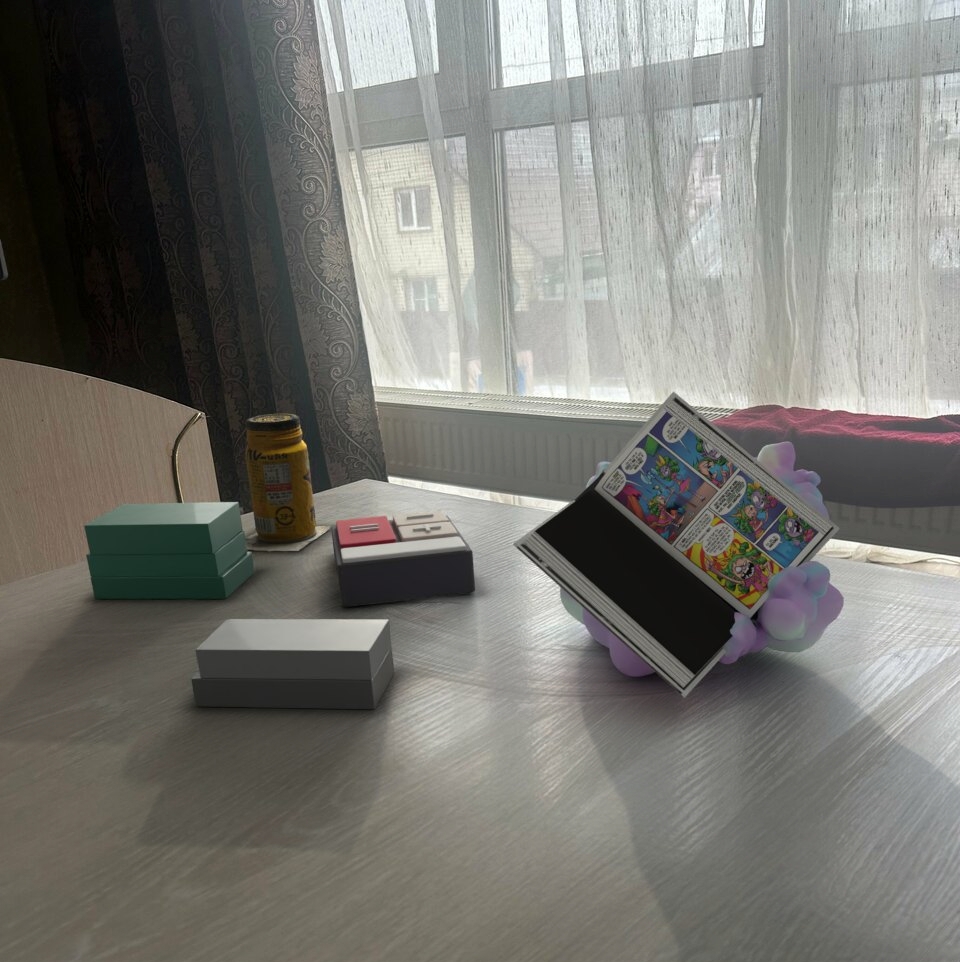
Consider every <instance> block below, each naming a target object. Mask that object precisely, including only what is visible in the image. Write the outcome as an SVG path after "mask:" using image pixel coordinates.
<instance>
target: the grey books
mask: <svg viewBox="0 0 960 962" xmlns="http://www.w3.org/2000/svg"><path fill="white" fill-rule="evenodd" d="M391 638H392V637H391V627H390V619H384V618H383V619H377V618H376V619H373V618H372V619H371V618H370V619H362V618H361V619H360V618H359V619H357V618H356V619H354V618H352V619H351V618H349V619H344V618H343V619H340V618H338V619H336V618H333V619H330V618H329V619H328V618H323V619H322V618H321V619H319V618H316V619H315V618H312V619H311V618H307V619H306V618H302V619H301V618H226V620H224V621H223V623H221V624H220V625H219V626H218V627H217V628H216V629H215V630H214V631H213V632H211V634H210V635H209V636H208V637H207V638H206V639H205V640H204V641H203V642H202V643H200V645H199V646H198V647H197V648H196V649H195V656H196V661H197V666H198V667H197V668H198V671H197V672H196V673H195V674H194V675H193V676H192V677H191V679H190V681H191V686H192V693H193V697H194V703H195V706H196V707H203V708H205V707H207V708H209V707H211V708H213V707H214V708H263V709H265V708H268V709H270V708H271V709H323V710H325V709H326V710H331V709H332V710H375V709H376V707H377V706H378V704H379V702H380V701H381V698H382V697H383V695H384V693H385V691H386V689H387V687H388V685H389V684H390V682H391V680H392V678H393V676H394V675H395V667H394V658H393V657H394V656H393V647H392V639H391Z"/></svg>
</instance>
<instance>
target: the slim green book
mask: <svg viewBox="0 0 960 962" xmlns="http://www.w3.org/2000/svg"><path fill="white" fill-rule="evenodd" d="M83 525H84V526H83V528H84V532H85V537H86V542H87V547H88V550H89V553H90V555H127V554H213V553H214V552H215V551H217V550H218V549H219V548H220V547H222V546H223V545H224V544H225V543H227V542H228V541H229V540H231V539H232V538H233V537H234V536H236V535H237V534H238V533H239V532H241V531H244V530H243V523H242V517H241V510H240V503H239V502H238V501H219V502H218V501H217V502H215V501H213V502H212V501H211V502H165V503H164V502H161V503H160V502H159V503H122V504H121V505H119V506H117V507H115V508H113V509H112V510H109V511H107V512H106V513H104V514H102V515H101V516H99V517H97V518H95V519H94V520H92V521H90V522H88V523H86V524H83Z"/></svg>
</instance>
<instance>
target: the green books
mask: <svg viewBox="0 0 960 962" xmlns="http://www.w3.org/2000/svg"><path fill="white" fill-rule="evenodd" d="M245 533H246V532H245V530H242V531H241V532H239V533H238V534H237V535H236V536H234V537H233V538H232V539H231V540H229V541H228V542H227V543H225V544H224V545H223V546H222V547H220V548H219V549H218V550H217V551H215V552H214V553H213V554H127V555H90V552H88V553H86V554H85V555H86V562H87V565H88V570H89V575H90V582H91V587H92V592H93V596H94V599H95V600H171V599H172V600H191V599H192V600H208V599H209V600H219V599H220V600H224V599H227V598H228V597H230V596H231V595H232V594H233V593H234V592H235V591H236V590H238V588H240V587H241V586H242V585H244V583H245V582H246V581H247V580H248V579H249V578H250V577H252V576H253V575H254V574H255V573H256V571H255V563H254V558H253V552H252V551H248V550H247V547H246V540H245V537H246V534H245Z"/></svg>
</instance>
